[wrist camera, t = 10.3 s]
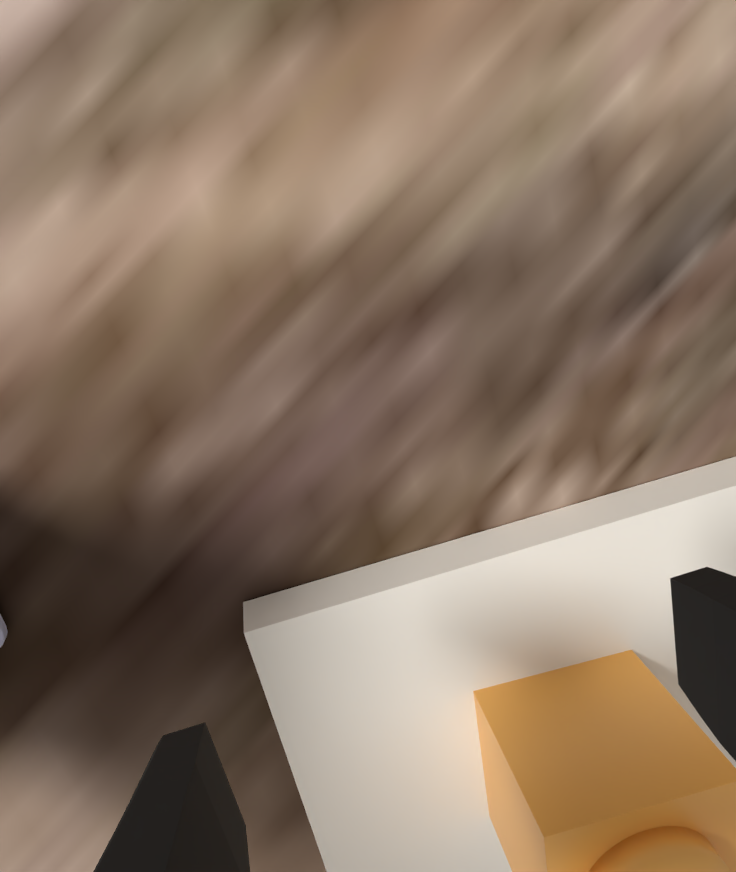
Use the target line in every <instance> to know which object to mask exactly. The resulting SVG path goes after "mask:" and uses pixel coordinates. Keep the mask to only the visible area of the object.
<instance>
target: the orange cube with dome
mask: <svg viewBox="0 0 736 872" xmlns="http://www.w3.org/2000/svg"><path fill="white" fill-rule="evenodd" d="M473 693H474V701H475V709H476V717H477V724H478V732H479V740H480V747H481V755H482V763H483V770H484V778H485V786H486V794H487V801H488V809H489V817H490V819H491V821H492V824H493V826H494V829H495V831H496V833H497V836H498V838H499V841H500V843H501V846H502V848H503V850H504V853H505V855H506V858H507V860H508V863H509V865H510V867H511V870H512V872H736V768H735V767H734V766H733V765H732V763H731V762H730V761H729V760H728V759H727V758H726V757H725V755H724V754H723V753H722V752H721V751H720V750H719V749H718V748H717V746H716V745H715V744H714V743H713V742H712V741H711V740H710V738H709V737H708V736H707V735H706V734H705V733H704V732H703V730H702V729H701V728H700V727H699V726H698V725H697V724H696V722H695V721H694V720H693V719H692V718H691V717H690V716H689V714H688V713H687V712H686V711H685V710H684V709H683V708H682V707H681V705H680V704H679V703H678V702H677V701H676V700H675V699H674V697H673V696H672V695H671V694H670V693H669V692H668V691H667V689H666V688H665V687H664V686H663V685H662V684H661V683H660V681H659V680H658V679H657V678H656V677H655V676H654V675H653V674H652V672H651V671H650V670H649V669H648V668H647V667H646V666H645V664H644V663H643V662H642V661H641V660H640V659H639V658H638V656H637V655H636V654H635V653H634V652H633V651H632V650H628V651H624V652H621V653H617V654H613V655H609V656H605V657H601V658H598V659H594V660H590V661H586V662H582V663H579V664H575V665H571V666H567V667H563V668H559V669H556V670H552V671H548V672H544V673H540V674H537V675H533V676H529V677H525V678H521V679H518V680H514V681H510V682H506V683H502V684H498V685H495V686H491V687H487V688H483V689H479V690H476V691H473Z"/></svg>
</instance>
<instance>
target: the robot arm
mask: <svg viewBox="0 0 736 872" xmlns="http://www.w3.org/2000/svg"><path fill="white" fill-rule="evenodd" d="M670 583H671V596H672V610H673V623H674V636H675V649H676V662H677V675H678V685H679V686H680V688H681V689H682V690H683V692H684V693H685V695H686V696H687V698H688V699H689V701H690V702H691V704H692V705H693V706H694V708H695V709H696V711H697V712H698V714H699V715H700V717H701V718H702V719H703V721H704V722H705V724H706V725H707V726H708V728H709V729H710V730H711V732H712V733H713V734H714V736H715V737H716V739H717V740H718V741H719V743H720V744H721V745H722V746H723V747H724V749H725V750H726V751H727V752H728V753H729V754H730V755H731V757H732V758H733V759H734V760H735V761H736V576H733V575H730V574H727V573H724V572H721V571H718V570H715V569H712V568H709V567H705V568H701V569H698V570H695V571H692V572H688V573H685V574H682V575H679V576H676V577H672V578H670ZM7 633H8V631H7V627H6V624H5V622H4V620H3V618H2V616H1V614H0V647H1V646H2V645H3V643H4V641H5V639H6V637H7ZM94 872H250V866H249V856H248V846H247V835H246V825H245V823H244V820H243V818H242V815H241V812H240V810H239V807H238V805H237V802H236V800H235V797H234V795H233V792H232V790H231V787H230V785H229V782H228V780H227V777H226V774H225V772H224V769H223V767H222V764H221V762H220V759H219V757H218V754H217V752H216V749H215V747H214V744H213V741H212V739H211V736H210V734H209V731H208V729H207V726H206V724H205V723H202V724H199V725H196V726H192V727H189V728H186V729H183V730H180V731H176V732H173V733H170V734H167V735H163V737H162V738H161V740H160V741H159V743H158V745H157V747H156V749H155V751H154V753H153V755H152V757H151V759H150V761H149V763H148V765H147V767H146V769H145V771H144V773H143V775H142V778H141V780H140V782H139V784H138V786H137V788H136V790H135V792H134V794H133V796H132V798H131V800H130V802H129V804H128V806H127V808H126V810H125V812H124V814H123V816H122V818H121V820H120V822H119V824H118V826H117V828H116V830H115V832H114V834H113V836H112V838H111V839H110V841H109V843H108V845H107V847H106V849H105V851H104V853H103V855H102V857H101V858H100V860H99V862H98V864H97V866H96V868H95V870H94Z"/></svg>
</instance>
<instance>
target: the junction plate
mask: <svg viewBox="0 0 736 872" xmlns="http://www.w3.org/2000/svg"><path fill="white" fill-rule="evenodd" d="M705 567H709V568H712V569H715V570H718V571H721V572H724V573H727V574H730V575H733V576H736V457H733V458H729V459H726V460H722V461H719V462H716V463H712V464H709V465H706V466H702V467H699V468H695V469H692V470H689V471H685V472H682V473H679V474H675V475H672V476H668V477H665V478H662V479H658V480H655V481H651V482H648V483H645V484H641V485H638V486H635V487H631V488H628V489H624V490H621V491H618V492H614V493H611V494H607V495H604V496H601V497H597V498H594V499H591V500H587V501H584V502H580V503H577V504H574V505H570V506H567V507H563V508H560V509H557V510H553V511H550V512H547V513H543V514H540V515H536V516H533V517H530V518H526V519H523V520H519V521H516V522H513V523H509V524H506V525H503V526H499V527H496V528H492V529H489V530H486V531H482V532H479V533H475V534H472V535H469V536H465V537H462V538H459V539H455V540H452V541H448V542H445V543H442V544H438V545H435V546H431V547H428V548H425V549H421V550H418V551H415V552H411V553H408V554H404V555H401V556H398V557H394V558H391V559H387V560H384V561H381V562H377V563H374V564H371V565H367V566H364V567H360V568H357V569H354V570H350V571H347V572H344V573H340V574H337V575H333V576H330V577H327V578H323V579H320V580H316V581H313V582H310V583H306V584H303V585H300V586H296V587H293V588H289V589H286V590H283V591H279V592H276V593H272V594H269V595H266V596H262V597H259V598H256V599H252V600H249V601H245V602H243V623H244V635H245V638H246V641H247V644H248V647H249V650H250V652H251V655H252V658H253V661H254V664H255V667H256V670H257V673H258V675H259V678H260V681H261V684H262V687H263V690H264V693H265V696H266V699H267V701H268V704H269V707H270V710H271V713H272V716H273V719H274V722H275V724H276V727H277V730H278V733H279V736H280V739H281V742H282V745H283V747H284V750H285V753H286V756H287V759H288V762H289V765H290V768H291V770H292V773H293V776H294V779H295V782H296V785H297V788H298V791H299V793H300V796H301V799H302V802H303V805H304V808H305V811H306V814H307V816H308V819H309V822H310V825H311V828H312V831H313V834H314V837H315V839H316V842H317V845H318V848H319V851H320V854H321V857H322V860H323V862H324V865H325V868H326V871H327V872H512V870H511V867H510V865H509V863H508V860H507V858H506V855H505V853H504V850H503V848H502V846H501V843H500V841H499V838H498V836H497V833H496V831H495V829H494V826H493V824H492V821H491V819H490V817H489V809H488V801H487V794H486V786H485V778H484V770H483V763H482V755H481V747H480V740H479V732H478V724H477V717H476V709H475V701H474V693H473V691H476V690H479V689H483V688H487V687H491V686H495V685H498V684H502V683H506V682H510V681H514V680H518V679H521V678H525V677H529V676H533V675H537V674H540V673H544V672H548V671H552V670H556V669H559V668H563V667H567V666H571V665H575V664H579V663H582V662H586V661H590V660H594V659H598V658H601V657H605V656H609V655H613V654H617V653H621V652H624V651H628V650H632V651H633V652H634V653H635V654H636V655H637V656H638V658H639V659H640V660H641V661H642V662H643V663H644V664H645V666H646V667H647V668H648V669H649V670H650V671H651V672H652V674H653V675H654V676H655V677H656V678H657V679H658V680H659V681H660V683H661V684H662V685H663V686H664V687H665V688H666V689H667V691H668V692H669V693H670V694H671V695H672V696H673V697H674V699H675V700H676V701H677V702H678V703H679V704H680V705H681V707H682V708H683V709H684V710H685V711H686V712H687V713H688V714H689V716H690V717H691V718H692V719H693V720H694V721H695V722H696V724H697V725H698V726H699V727H700V728H701V729H702V730H703V732H704V733H705V734H706V735H707V736H708V737H709V738H710V740H711V741H712V742H713V743H714V744H715V745H716V746H717V748H718V749H719V750H720V751H721V752H722V753H723V754H724V755H725V757H726V758H727V759H728V760H729V761H730V762H731V763H732V765H733V766H734V767H735V768H736V761H735V760H734V759H733V758H732V757H731V755H730V754H729V753H728V752H727V751H726V750H725V749H724V747H723V746H722V745H721V744H720V743H719V741H718V740H717V739H716V737H715V736H714V734H713V733H712V732H711V730H710V729H709V728H708V726H707V725H706V724H705V722H704V721H703V719H702V718H701V717H700V715H699V714H698V712H697V711H696V709H695V708H694V706H693V705H692V704H691V702H690V701H689V699H688V698H687V696H686V695H685V693H684V692H683V690H682V689H681V688H680V686H679V685H678V675H677V662H676V649H675V636H674V623H673V610H672V596H671V583H670V578H672V577H676V576H679V575H682V574H685V573H688V572H692V571H695V570H698V569H701V568H705Z"/></svg>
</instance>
